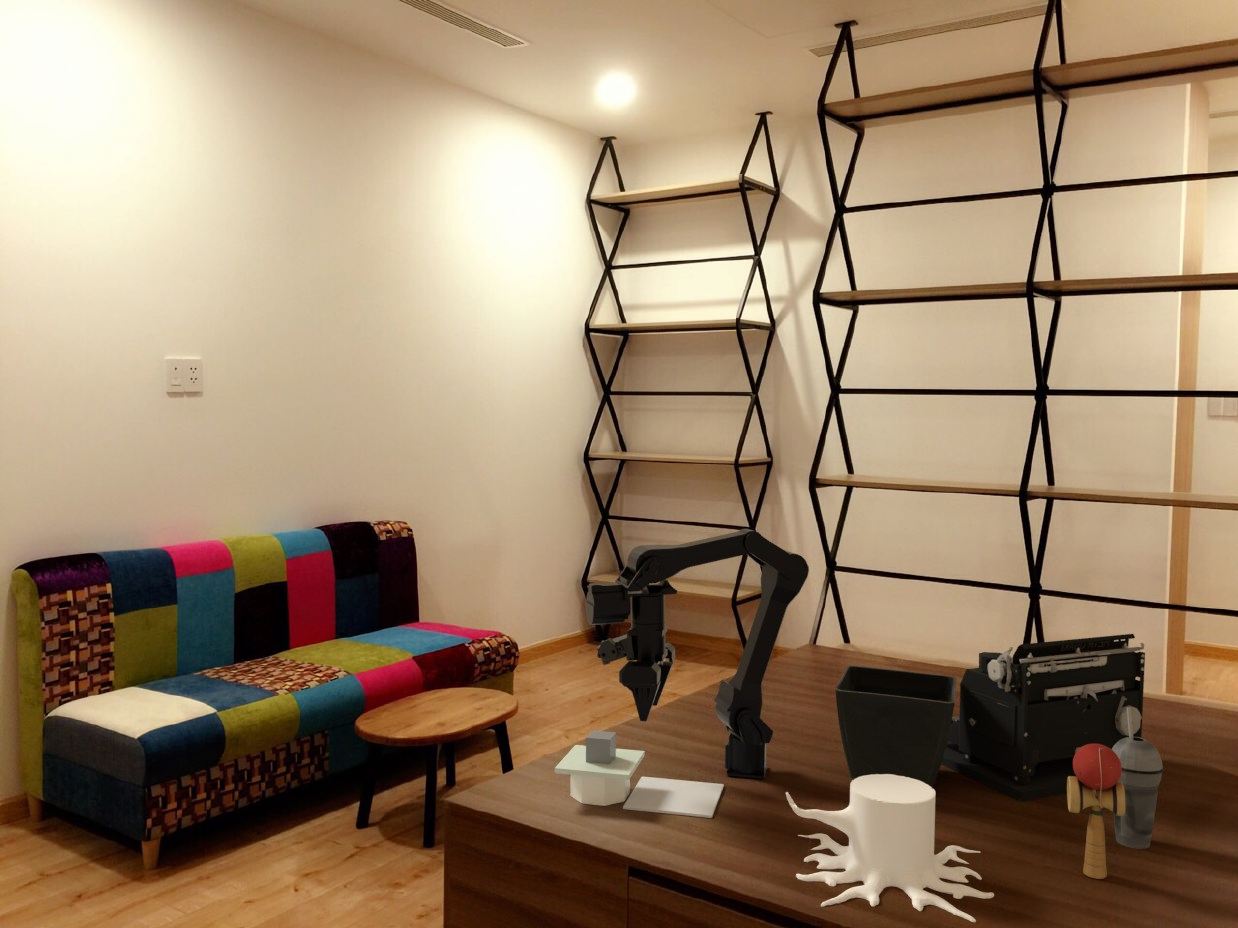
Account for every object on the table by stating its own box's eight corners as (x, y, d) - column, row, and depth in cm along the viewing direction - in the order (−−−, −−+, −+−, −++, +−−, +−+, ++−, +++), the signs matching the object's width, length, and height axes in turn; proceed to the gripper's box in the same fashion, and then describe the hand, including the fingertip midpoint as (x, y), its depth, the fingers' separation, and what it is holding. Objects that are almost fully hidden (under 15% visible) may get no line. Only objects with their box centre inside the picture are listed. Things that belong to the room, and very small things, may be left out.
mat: (723, 786, 170) (723, 784, 170) (711, 817, 156) (711, 815, 156) (641, 778, 173) (641, 776, 173) (623, 808, 159) (623, 806, 159)
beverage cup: (1168, 855, 144) (1172, 716, 144) (1112, 850, 146) (1117, 712, 145) (1151, 835, 152) (1156, 702, 151) (1099, 830, 153) (1103, 699, 152)
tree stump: (780, 903, 130) (782, 815, 129) (788, 819, 157) (789, 746, 157) (1009, 927, 124) (1012, 835, 124) (976, 836, 152) (978, 760, 151)
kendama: (1056, 875, 138) (1060, 743, 137) (1068, 859, 143) (1072, 733, 142) (1118, 891, 133) (1123, 756, 132) (1128, 875, 138) (1133, 744, 137)
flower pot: (954, 767, 181) (956, 673, 180) (952, 805, 163) (954, 701, 162) (845, 754, 187) (847, 664, 186) (832, 789, 169) (834, 689, 168)
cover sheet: (644, 755, 170) (644, 727, 169) (628, 779, 158) (629, 749, 158) (575, 749, 172) (575, 721, 172) (554, 772, 161) (554, 742, 161)
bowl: (633, 787, 169) (633, 757, 168) (620, 807, 160) (621, 776, 160) (580, 782, 171) (581, 752, 171) (565, 801, 162) (565, 770, 162)
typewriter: (1036, 734, 201) (1039, 609, 200) (1157, 779, 176) (1162, 636, 175) (910, 753, 189) (913, 619, 188) (1021, 804, 164) (1026, 650, 163)
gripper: (613, 609, 182) (614, 695, 182) (587, 631, 163) (588, 726, 164) (675, 611, 179) (676, 698, 180) (656, 633, 161) (656, 730, 162)
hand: (648, 712), depth 171 cm, fingers open, 9 cm apart
